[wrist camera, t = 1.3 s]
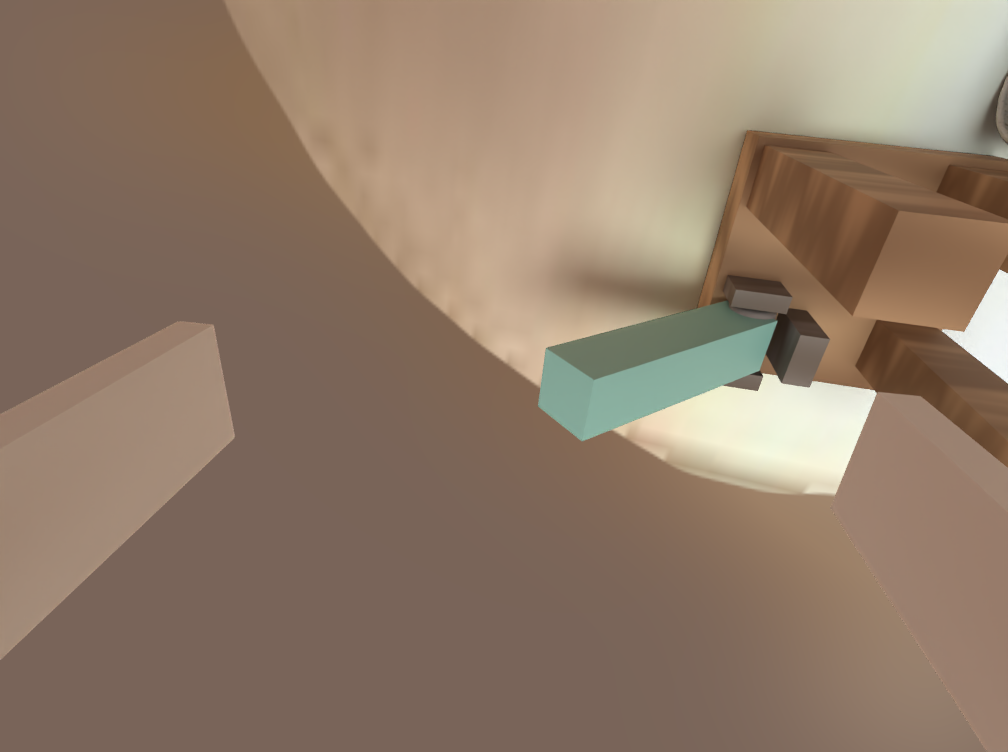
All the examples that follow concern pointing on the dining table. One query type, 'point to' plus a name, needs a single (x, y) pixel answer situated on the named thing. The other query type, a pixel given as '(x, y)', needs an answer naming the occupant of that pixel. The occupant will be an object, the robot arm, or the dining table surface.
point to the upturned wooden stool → (868, 268)
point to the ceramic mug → (1003, 112)
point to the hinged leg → (651, 366)
